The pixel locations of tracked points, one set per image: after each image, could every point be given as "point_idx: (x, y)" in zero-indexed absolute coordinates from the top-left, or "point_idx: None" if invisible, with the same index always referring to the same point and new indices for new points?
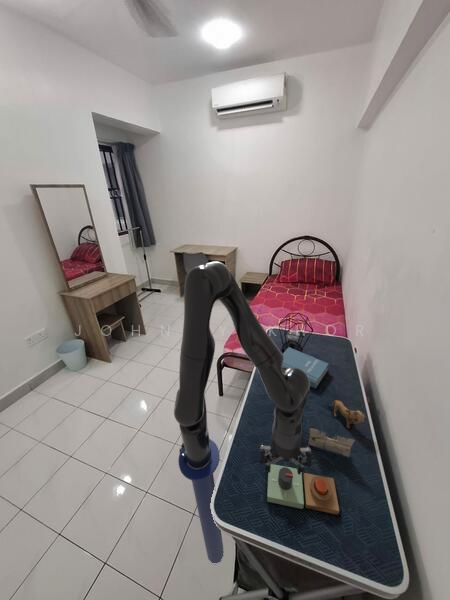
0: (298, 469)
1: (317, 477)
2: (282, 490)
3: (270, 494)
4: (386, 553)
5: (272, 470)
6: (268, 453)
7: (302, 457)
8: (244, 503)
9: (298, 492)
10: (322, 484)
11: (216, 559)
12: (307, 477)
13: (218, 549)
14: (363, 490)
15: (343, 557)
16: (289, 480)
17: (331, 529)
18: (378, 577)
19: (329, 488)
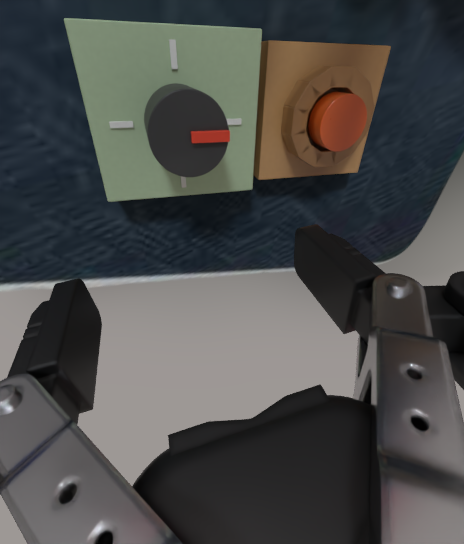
0: (323, 304)
1: (333, 73)
2: None
3: (119, 191)
4: (410, 216)
5: (100, 67)
6: (4, 473)
7: (422, 290)
8: (19, 217)
9: (236, 153)
10: (348, 119)
11: None
12: (282, 65)
13: None
14: (458, 62)
15: None
16: (210, 165)
17: (311, 206)
18: (371, 256)
19: None
